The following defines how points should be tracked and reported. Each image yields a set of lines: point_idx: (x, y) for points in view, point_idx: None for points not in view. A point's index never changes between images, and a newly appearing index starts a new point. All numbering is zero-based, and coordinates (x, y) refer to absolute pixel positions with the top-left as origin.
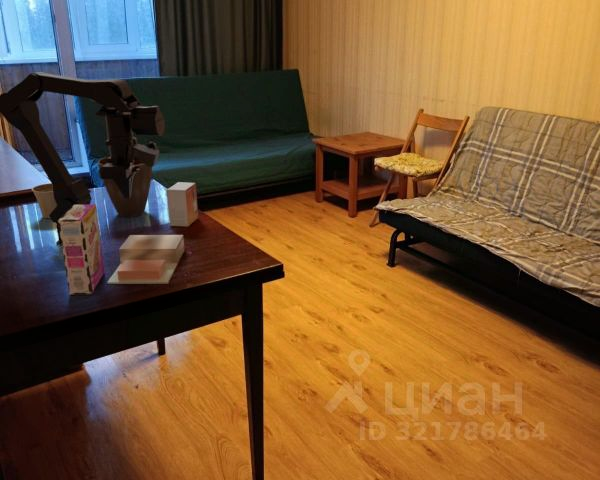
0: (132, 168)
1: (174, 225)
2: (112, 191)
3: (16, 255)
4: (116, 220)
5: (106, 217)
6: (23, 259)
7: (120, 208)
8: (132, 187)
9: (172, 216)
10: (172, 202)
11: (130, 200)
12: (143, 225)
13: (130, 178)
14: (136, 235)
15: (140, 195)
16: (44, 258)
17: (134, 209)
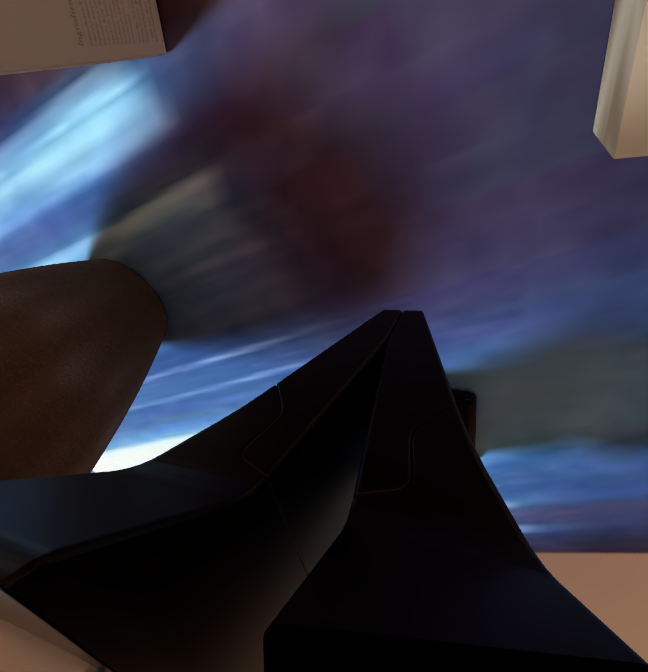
0: (37, 657)
1: (158, 16)
2: (117, 417)
3: (566, 534)
4: (204, 332)
5: (193, 368)
6: (616, 520)
7: (153, 345)
8: (49, 353)
9: (119, 25)
10: (25, 12)
11: (111, 326)
12: (212, 211)
13: (390, 518)
14: (639, 94)
15: (55, 297)
16: (623, 474)
17: (127, 293)
